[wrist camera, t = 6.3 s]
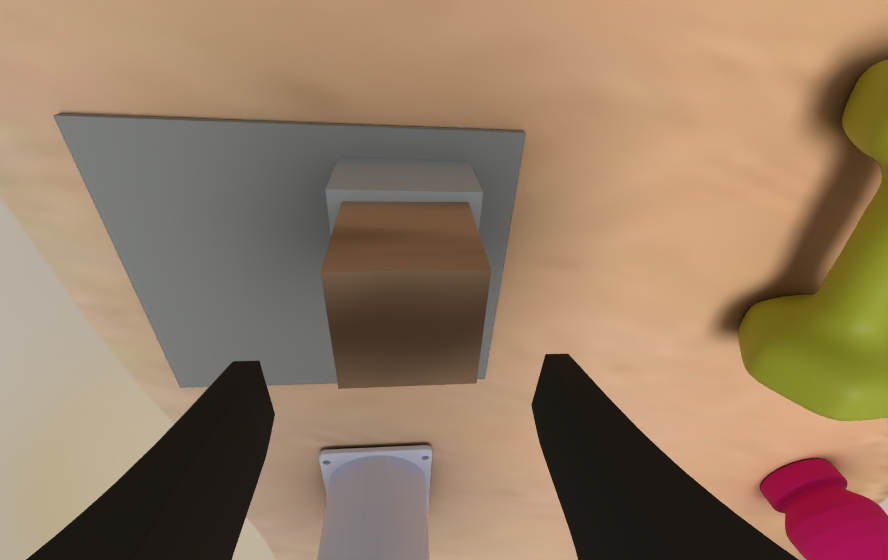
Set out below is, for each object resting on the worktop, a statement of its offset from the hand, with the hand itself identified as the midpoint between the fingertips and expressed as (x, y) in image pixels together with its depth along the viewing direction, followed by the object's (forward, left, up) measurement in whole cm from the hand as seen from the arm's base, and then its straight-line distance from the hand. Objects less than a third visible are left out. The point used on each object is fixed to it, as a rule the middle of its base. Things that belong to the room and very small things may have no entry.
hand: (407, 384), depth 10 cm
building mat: (-4, +4, -10) cm, 12 cm away
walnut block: (0, 0, -6) cm, 6 cm away
